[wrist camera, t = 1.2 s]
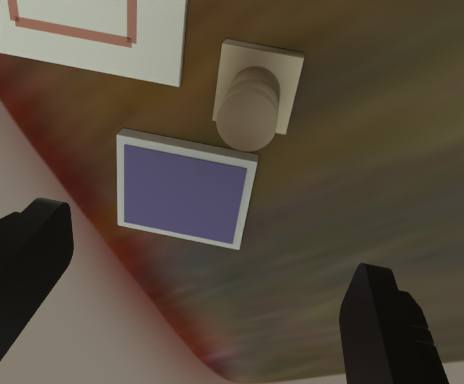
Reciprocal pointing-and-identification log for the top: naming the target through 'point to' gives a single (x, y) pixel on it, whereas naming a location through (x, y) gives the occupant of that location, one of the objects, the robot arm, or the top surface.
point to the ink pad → (183, 188)
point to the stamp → (255, 92)
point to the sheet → (99, 35)
